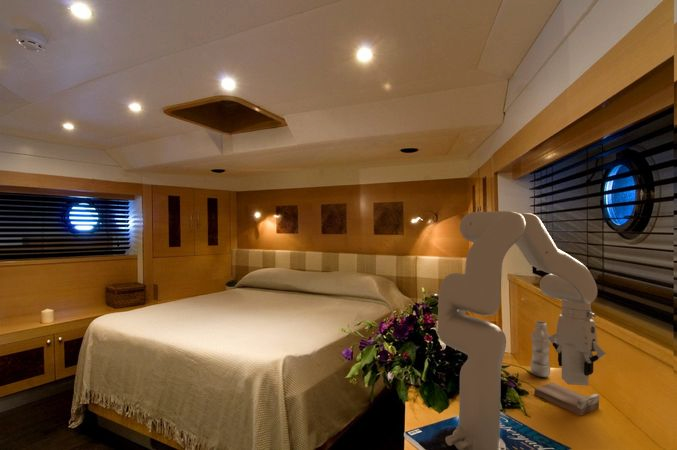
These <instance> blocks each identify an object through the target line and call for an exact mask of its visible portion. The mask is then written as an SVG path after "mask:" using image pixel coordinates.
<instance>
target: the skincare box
mask: <svg viewBox="0 0 677 450" xmlns="http://www.w3.org/2000/svg"><path fill="white" fill-rule="evenodd" d="M584 362H586V359H585V357H584V355H583V353H582V352H579V351H576V350H575V347H574V346H571V345H568V344H563V346H562V366H561V380H563V381H564V382H565V383H566V384H567V385H571V386H573V385H574V386H585V387H586V386H587V387H588V386H589V384H590V383H589V382H590V379H589V378H590V375H588V376H586V375H584Z"/></svg>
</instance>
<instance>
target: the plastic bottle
mask: <svg viewBox="0 0 677 450" xmlns="http://www.w3.org/2000/svg"><path fill="white" fill-rule="evenodd" d="M534 327H535V328H534V329H533V331H532V332H531V334H530V337H531V338H530V339H531V344H532V345H531V346H532V355H531V356H532V357H531V362H530V365H529V367H530V372H531V373H532V372H533V373H534V374H533V373H532V374H533V375H534V376H536V377H540V378H547V377H549V376H550V375H551V366H550V358H549V357H550V345H551V341H550V340H549V337H550V336H551V334H550V333H549V331H548V330H547V328H548V323H547V322H545V321H543V320H537V321H535V325H534Z"/></svg>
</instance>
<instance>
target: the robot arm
mask: <svg viewBox="0 0 677 450" xmlns="http://www.w3.org/2000/svg"><path fill="white" fill-rule="evenodd" d="M459 231H460V234H461V236H462V237H463V238H464V239H465V240H466V241H468V242H471V243H473V244H472V245H471V246H470V247H469V249H468V251H467V255H466V259H465V270H464V273H461V272H453V273H449V274H447V275H446V276H445V277H444V278H443V280H442V281H441V283H440V286H439V289H438V298H437V299H438V304H437V334H438V338H439V339H440V340H441V342H442V343H443V344H444V345H446V346H448V347H450V348H452V349H454V350H456V351H459V352H461V353H463V354H465V355H467V360H465V362H464V363H463V364H462V366H461V369H460V372H459V403H458V404H459V406H458V407H459V409H458V412H459V413H458V425H457V426H456V428H455V429H454V430H453V432H452V434H451V435H447V436H445V444H447V445H448V446H450V447H451V446H453V445H454V446H455V447H456V449H457V450H507V446H506V443H505V441H504V440H503V439H502V438H501V437H500V436H501V435H500V432H501V430H500V429H501V391H502V390H501V385H502V383H501V381H502V379H501V378H502V366H503V361H504V356H505V351H506V349H507V337H506V334H505V332H504V331H503V329H501V327H499V326H498V325H497V324H494V323H493V322H491V321H488V320H485V319H481V318H478V317H475V316H470V315H468V314H466V312H468V313H472V314H475V315H478V316H485V317H488V316H489V317H490V316H493V315H495V314H497V313H498V311H499V310H500V305H501V299H502V276H503V275H502V272H503V262H504V259H505V256H506V254H507V253H508V251H510V249H511V248H512V247H513V246H514V245H516V246H517V248H518V249H519V250H520V252H521V253H522V255H523V257H524V258H525V260H526V261H527V263H528V264H529V265H530V266H532V267H534V268H536V269H538V270H540V271H542V272H544V273H547V274H546V275H544V276H543V277H542V278H541V279H540V282H539V289H540V291H541V292H542V294H543V295H545V296H546V297H549V298H551V299H555V300H557V299H558V300H561V314H559V317H558V320H557V323H556V324H557V325H556V331H555V333H554V334H552V335H550V337H549V340H550V344H552V346H553V347H554V349H555V352H556V353H557V362H558V366H559V367H562V346H563V344H568V345H571V346H574V347H575V350H576V351H579V352H582V353H583V355H584V357H585V359H586V362H584V375H586V376H588V375H589V376H591V375H593V373H594V363H595V362H596V361H598V360H600V359H601V358H603V357H604V356H606V354H607V353H606V352H605V351H604V350H603V349H602V348H601V346H600V345H599V344H598V337H597V336H598V335H597V330H596V324H595V319H594V318H596V313H594V312H593V311H592V309H591V308H592V307H591V306H592V302H594V301H595V300H596V299H597V296H598V286H597V283H596V281H595V279H594V277H593V275H592V273H591V272H590V270H589V269H588V267H587V266H586V265H584V264H583V263H582V262H581V261H579V260H578V259H576V258H575V257H573V256H571V255H570V254H568V253H566V252H565V251H563V250H561V249H559V248H558V246H557V245H556V242H554V239H552V237H551V235H550V234H549V232H548V231H547V228H546V227H545V225H544V223H543V222H542V220H541V219H540V218H539V217H538V216H537V215H535V214H534V213H528V212H515V211H510V210H509V211H508V210H507V211H505V210H503V211H501V210H496V211H473V212H469V213H467V214H465V215H464V216H463V217H462V219H461V220H460V222H459ZM592 318H593V319H592ZM593 352H595V355H594V353H593Z"/></svg>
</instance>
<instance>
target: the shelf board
mask: <svg viewBox="0 0 677 450" xmlns="http://www.w3.org/2000/svg"><path fill="white" fill-rule="evenodd" d="M534 395H535V396H538V397H539V398H541V397H542V398H541V399H543V398H544V399H543V400H546V401H547V402H550V403H552V404H554V405H556V406H559V407H561V408H563V409H565V410H568V411H570V412H572V413H574V414H576V415H579V416H580V417H581V416H584V415H586V414H588V413H591V412H593V411H595V410H599V408H600V394H597V393H594V394H591V395H589V396H587V395H584V394H581V393H579V392H576V391H574V390H573V389H569V388H567V387H565V386H563V385H560V384H557V383H555V382H550V383H547V384H544V385H541V386H537V387H535V388H534Z"/></svg>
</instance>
